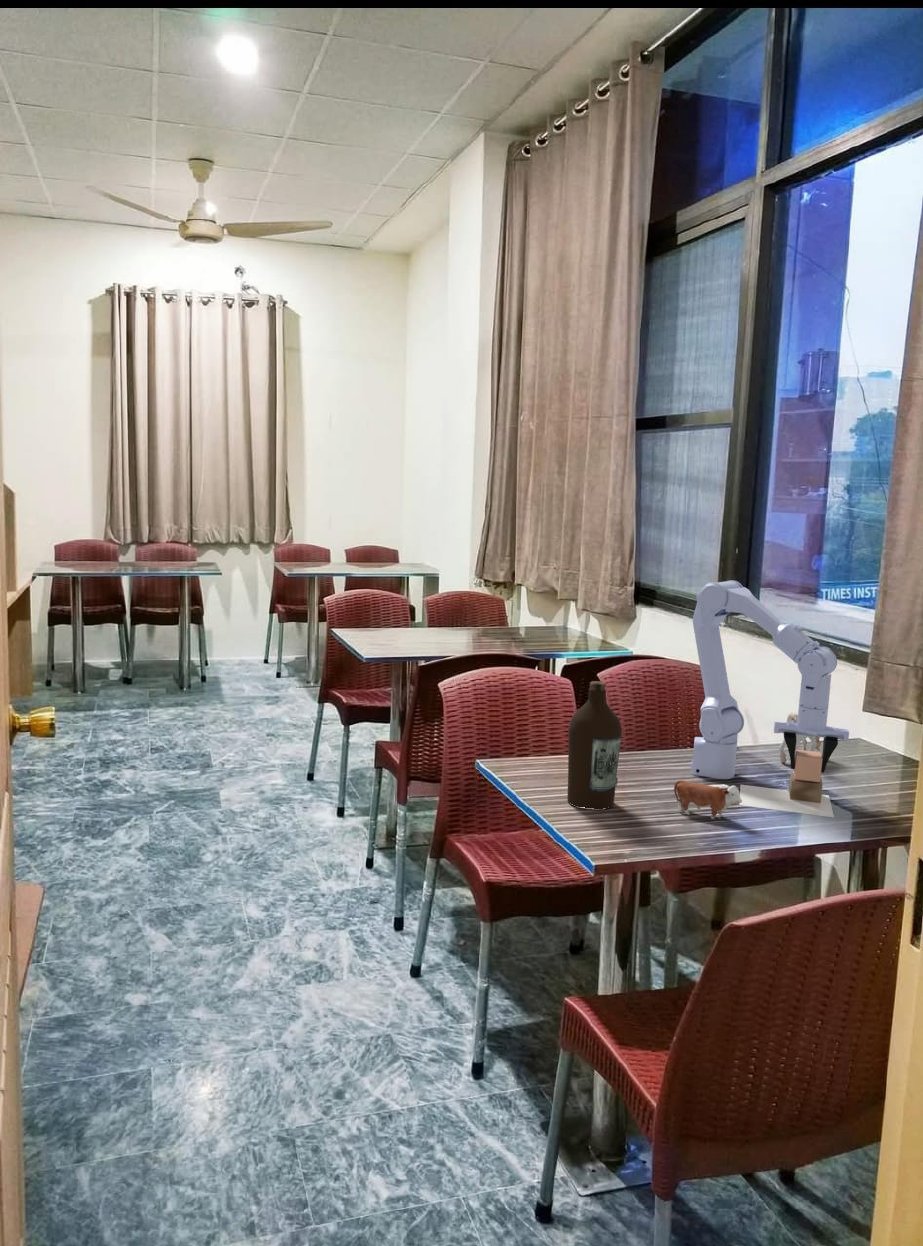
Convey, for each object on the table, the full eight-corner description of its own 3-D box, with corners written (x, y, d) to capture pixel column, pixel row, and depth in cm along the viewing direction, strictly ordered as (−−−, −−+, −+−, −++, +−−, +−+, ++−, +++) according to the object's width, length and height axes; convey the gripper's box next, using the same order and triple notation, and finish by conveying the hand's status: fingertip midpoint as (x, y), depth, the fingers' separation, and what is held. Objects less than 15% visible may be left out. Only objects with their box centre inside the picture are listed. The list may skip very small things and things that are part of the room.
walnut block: (790, 799, 199) (791, 780, 198) (789, 790, 205) (790, 772, 204) (820, 803, 197) (822, 784, 197) (818, 794, 203) (820, 776, 202)
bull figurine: (737, 831, 182) (741, 790, 181) (669, 816, 189) (672, 776, 188) (744, 825, 186) (747, 784, 185) (677, 810, 193) (680, 771, 192)
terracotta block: (794, 779, 198) (796, 755, 198) (793, 772, 203) (795, 749, 202) (820, 782, 197) (822, 758, 196) (818, 775, 202) (820, 752, 201)
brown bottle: (553, 798, 197) (560, 679, 193) (594, 791, 202) (601, 675, 198) (586, 815, 188) (594, 690, 184) (627, 807, 193) (636, 686, 189)
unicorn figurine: (771, 770, 222) (776, 714, 220) (790, 751, 239) (795, 699, 237) (803, 776, 218) (808, 719, 216) (820, 756, 235) (825, 703, 233)
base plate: (739, 809, 194) (739, 804, 194) (740, 788, 208) (740, 784, 207) (833, 822, 189) (834, 817, 189) (828, 800, 202) (828, 795, 202)
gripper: (777, 706, 196) (771, 770, 198) (852, 714, 192) (846, 779, 194) (776, 699, 203) (770, 761, 205) (849, 706, 199) (843, 769, 201)
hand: (807, 769), depth 200 cm, fingers open, 5 cm apart
